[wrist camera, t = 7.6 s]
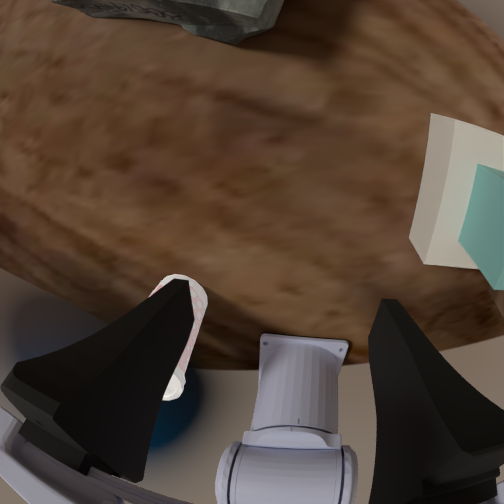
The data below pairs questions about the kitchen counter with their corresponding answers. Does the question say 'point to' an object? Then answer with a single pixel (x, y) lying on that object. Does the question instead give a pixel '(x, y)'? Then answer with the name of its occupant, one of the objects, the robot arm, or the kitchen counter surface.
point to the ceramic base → (450, 187)
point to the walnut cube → (497, 298)
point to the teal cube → (486, 225)
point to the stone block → (192, 14)
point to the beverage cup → (199, 309)
